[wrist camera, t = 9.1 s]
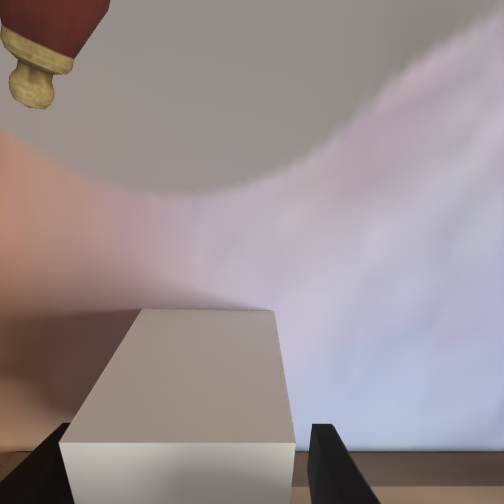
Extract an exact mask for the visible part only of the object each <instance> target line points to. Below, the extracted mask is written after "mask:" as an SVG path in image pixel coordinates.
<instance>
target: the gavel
mask: <svg viewBox="0 0 504 504" xmlns="http://www.w3.org/2000/svg"><path fill="white" fill-rule="evenodd" d="M109 4H110V0H0V19H1V23H2V26H1V34H0V38H1V40H2V43H3V45H4V47H5V48H6V49H7V50H8V51H9V52H10V53H11V54H12V55H14V56H15V57H16V58H17V59H18V63H17V68H16V69H15V70H14V71H13V72H12V73H11V75H10V77H9V88H10V91H11V93H12V96H13V98H14V99H15V100H17V101H19V102H21V103H22V104H24V105H26V106H27V107H29V108H36V109H46V108H47V107H48V106H50V105H51V103H52V101H53V98H54V88H53V85H52V78H53V75H54V74H67V73H69V72H70V71H71V70H72V67H73V63H74V59H75V57H76V56H77V54H78V53H79V52H80V50H81V49H82V47H83V46H84V44H85V43H86V41H87V40H88V39H89V37H90V36H91V34H92V33H93V31H94V30H95V28H96V27H97V26H98V24H99V23H100V21H101V20H102V18H103V17H104V15H105V14H106V12H107V11H108V8H109Z"/></svg>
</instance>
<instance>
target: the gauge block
mask: <svg viewBox="0 0 504 504" xmlns="http://www.w3.org/2000/svg"><path fill="white" fill-rule="evenodd" d="M59 446H60V450H61V453H62V457H63V461H64V465H65V469H66V472H67V476H68V480H69V484H70V488H71V491H72V495H73V499H74V503H75V504H290V494H291V485H292V475H293V465H294V456H295V446H296V441H295V435H294V429H293V423H292V417H291V411H290V405H289V399H288V393H287V387H286V381H285V375H284V369H283V363H282V357H281V350H280V344H279V338H278V332H277V326H276V320H275V314H274V311H254V310H181V309H142V310H141V311H140V313H139V315H138V316H137V318H136V319H135V321H134V323H133V324H132V326H131V327H130V329H129V331H128V332H127V334H126V335H125V337H124V339H123V340H122V342H121V343H120V345H119V347H118V348H117V350H116V352H115V353H114V355H113V356H112V358H111V360H110V361H109V363H108V364H107V366H106V368H105V369H104V371H103V372H102V374H101V376H100V377H99V379H98V380H97V382H96V384H95V385H94V387H93V388H92V390H91V392H90V393H89V395H88V396H87V398H86V400H85V401H84V403H83V404H82V406H81V408H80V409H79V411H78V412H77V414H76V416H75V417H74V419H73V420H72V422H71V424H70V425H69V427H68V429H67V430H66V432H65V433H64V435H63V437H62V438H61V440H60V441H59Z"/></svg>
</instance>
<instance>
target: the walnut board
mask: <svg viewBox="0 0 504 504" xmlns="http://www.w3.org/2000/svg"><path fill="white" fill-rule="evenodd" d="M30 453H32V452H14V454H13V455H12V456H11V458H10V459H9V460H8V462H7V463H6V465H5V466H4V467H3V469H2V470H1V471H0V482H1V481H2V480H3V479H4V478H5V477H6V476H7V475H8V474H9V473H10V472H11V471H13V470H14V469H15V468H16V467H17V466H18V465H19V464H20V463H21V462H22V461H23V460H24V459H25V458H26V457H27V456H28V455H29V454H30ZM349 454H350V455H351V457H352V459H353V460H354V462H355V464H356V465H357V467H358V469H359V470H360V472H361V473H362V475H363V477H364V478H365V480H366V481H367V483H368V484H369V486H370V487H371V489H372V490H373V492H374V494H375V495H376V497H377V498H378V500H379V501H380V503H381V504H504V452H349ZM308 455H309V452H295V456H294V465H293V475H292V485H291V494H290V504H311V497H310V490H309V482H308V474H307V463H308Z"/></svg>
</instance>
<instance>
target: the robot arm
mask: <svg viewBox="0 0 504 504" xmlns="http://www.w3.org/2000/svg"><path fill="white" fill-rule="evenodd" d="M70 424H71V423H62V424H61V425H60V426H59V427H58V428H57V429H56V430H55V431H54V432H53V433H51V434H50V435H49V436H48V437H47V438H46V439H45V440H44V441H43V442H42V443H41V444H40V445H39V446H38V447H37V448H36V449H35V450H34V451H33V452H32V453H30V454H29V455H28V456H27V457H26V458H25V459H24V460H23V461H22V462H21V463H20V464H19V465H18V466H17V467H16V468H15V469H14V470H13V471H11V472H10V473H9V474H8V475H7V476H6V477H5V478H4V479H3V480H2V481H1V482H0V504H75V503H74V499H73V495H72V491H71V488H70V484H69V480H68V476H67V472H66V469H65V465H64V461H63V457H62V453H61V450H60V446H59V441H60V440H61V438H62V437H63V435H64V433H65V432H66V430H67V429H68V427H69V425H70ZM307 474H308V482H309V490H310V497H311V504H381V503H380V501H379V500H378V498H377V497H376V495H375V494H374V492H373V490H372V489H371V487H370V486H369V484H368V483H367V481H366V480H365V478H364V477H363V475H362V473H361V472H360V470H359V469H358V467H357V465H356V464H355V462H354V460H353V459H352V457H351V455H350V454H349V452H348V450H347V449H346V447H345V445H344V443H343V442H342V440H341V438H340V436H339V434H338V433H337V431H336V429H335V427H334V426H333V425H332V424H312V430H311V438H310V447H309V455H308V463H307Z"/></svg>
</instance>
